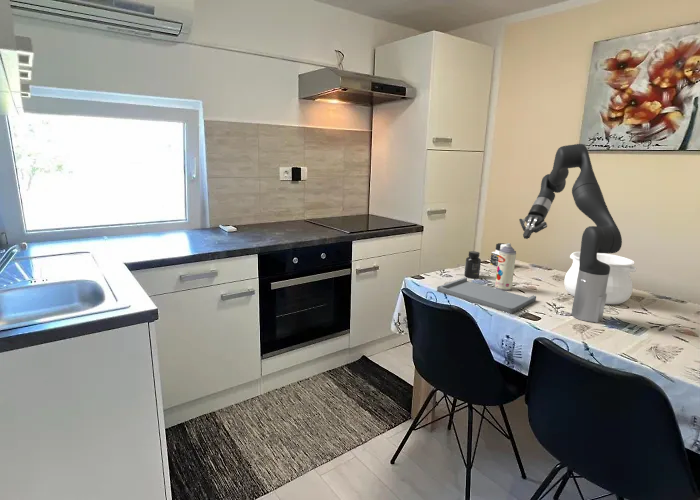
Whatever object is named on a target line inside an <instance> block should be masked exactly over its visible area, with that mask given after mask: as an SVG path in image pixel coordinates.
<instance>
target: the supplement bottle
mask: <svg viewBox="0 0 700 500" xmlns="http://www.w3.org/2000/svg"><path fill="white" fill-rule="evenodd" d="M480 254H481V253H480V252H479V251H477V250H476V251H475V250H470V251H468V256H467V257H466V259H465V265H464V277H465V278H467V279H479V278H480V273H481V263H482V260H481V258H480Z"/></svg>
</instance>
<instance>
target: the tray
mask: <svg viewBox="0 0 700 500" xmlns="http://www.w3.org/2000/svg"><path fill="white" fill-rule="evenodd" d="M436 292H438V293H440V294H445V295H448V296H451V297H454V298H457V299H461V300H464V301H468V302H470V303H474V304H477V305H480V306H484V307H487V308H489V309H493V310H498V311H500V312H503V311H504V312H503V313H506V312H507V314H509V313H510V314H509V315H512V313H513V314H514V313H516V312H517V310H518V311H520V310H522V309H523V307H524V308H526V307H527V306H529V305H531V304H533V303H535V302H536V301H537V296H536V295H531V296H529V297H528V296H524V295H522V294H521V295H520V294H516V293H513V292H510V291H502V290H499V289H496V288H495V287H490V286H487V285H484V284H480V283H476V282H472V281H468V278H467V277H465V276H464V277H461V278H459V279H456V280H453V281H449V282H447V283H444V284H441V285H438V286H437V287H436ZM521 308H522V309H521ZM519 309H520V310H519ZM515 311H516V312H515Z"/></svg>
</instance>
